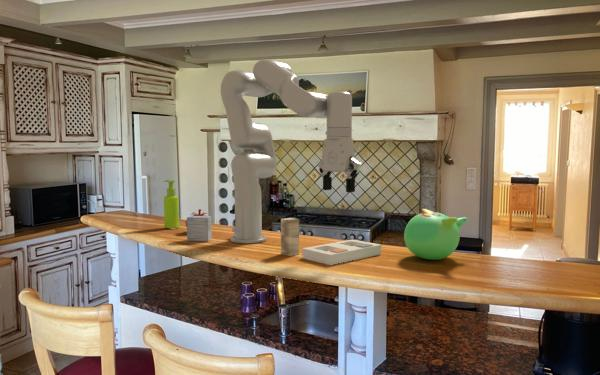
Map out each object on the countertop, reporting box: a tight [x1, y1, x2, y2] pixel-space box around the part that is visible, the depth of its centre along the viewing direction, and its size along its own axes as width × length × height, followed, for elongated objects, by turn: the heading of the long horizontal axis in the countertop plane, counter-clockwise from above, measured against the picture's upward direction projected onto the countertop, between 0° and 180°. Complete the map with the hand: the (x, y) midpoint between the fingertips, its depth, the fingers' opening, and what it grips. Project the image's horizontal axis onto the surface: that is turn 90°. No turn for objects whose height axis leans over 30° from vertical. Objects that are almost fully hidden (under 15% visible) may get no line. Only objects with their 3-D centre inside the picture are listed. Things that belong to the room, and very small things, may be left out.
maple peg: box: [280, 217, 300, 257], centre depth 149 cm, size 4×4×11 cm
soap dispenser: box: [163, 179, 180, 229], centre depth 199 cm, size 6×7×20 cm
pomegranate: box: [184, 208, 212, 228], centre depth 188 cm, size 10×10×9 cm
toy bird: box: [403, 208, 469, 261], centre depth 142 cm, size 18×17×15 cm
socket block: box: [301, 239, 382, 266], centre depth 146 cm, size 12×22×3 cm, turn 131°
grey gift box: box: [186, 215, 213, 242], centre depth 172 cm, size 8×4×9 cm, turn 84°
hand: (338, 190), depth 145 cm, fingers open, 9 cm apart
